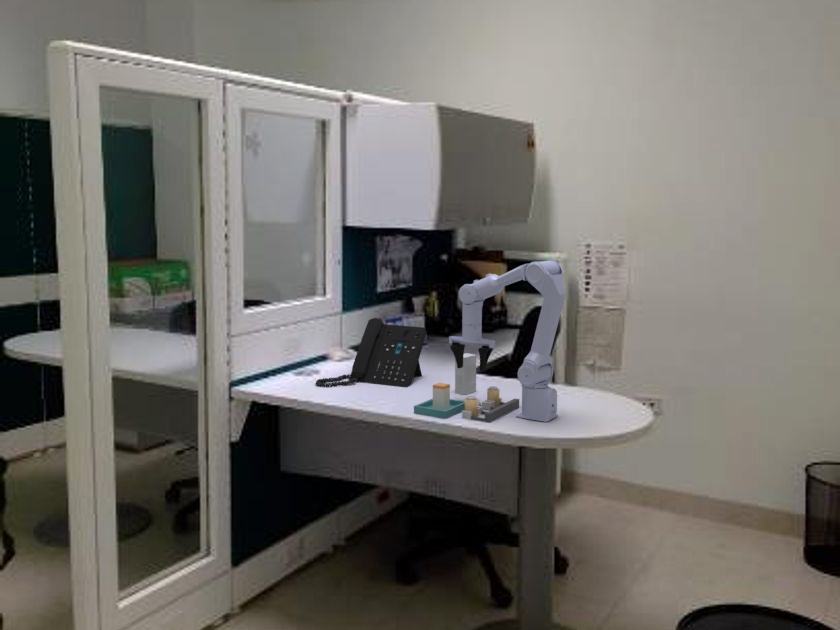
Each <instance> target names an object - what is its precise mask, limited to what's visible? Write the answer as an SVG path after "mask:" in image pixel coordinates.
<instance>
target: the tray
mask: <svg viewBox="0 0 840 630" xmlns="http://www.w3.org/2000/svg"><path fill="white" fill-rule="evenodd" d="M463 410H465V400H459V399H458V400H457V399H451V398H450V408H449V409H447V410H439V409H433V398H429V399H428V400H425V401H423V402H420V403H418V404H416V405H414V406H413V414H416V415H422V416H428V417H435V418H440V419H446V420H447V419H449V418H451V417H453V416H455V415H457V414H459V413H462V411H463Z"/></svg>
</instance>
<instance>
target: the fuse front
mask: <svg viewBox="0 0 840 630" xmlns="http://www.w3.org/2000/svg"><path fill="white" fill-rule="evenodd" d="M478 400H479V399H478V398H476V396H473V395H471V396H470V395H469V396H468V395H467V396H466V398H464V401H465V411H471V412H472V416H475V417H478V416H477V406H478V404H479V403H478Z"/></svg>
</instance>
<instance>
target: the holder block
mask: <svg viewBox="0 0 840 630" xmlns="http://www.w3.org/2000/svg"><path fill="white" fill-rule="evenodd" d="M517 409H520V399H519V398H513V399H511V400H509V401H506V402H504V401H502V397H499V406H498V407H495V401H490V400H487V399H485V400H483V401H481V405H477V417H475V416H472V412H471V411H465V410H463V411H462V412H461V418H462V419H467V420H471V421H472V420H473V421H478V422H482V423H483V422H484V423H489V424H490V423H491V422H493V421H496V420H498V419H499V418H501V417H504V416H505V415H507V414H509V413H511V412H513V411H515V410H517ZM485 410H486V411H485ZM487 410H488V411H487ZM480 415H484V417H480Z"/></svg>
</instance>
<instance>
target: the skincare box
mask: <svg viewBox="0 0 840 630" xmlns="http://www.w3.org/2000/svg"><path fill="white" fill-rule="evenodd" d="M476 391H477V355H476V354H473V353H468V352H467V353H466V352H464V354H463V367H462V368H458V367H457V363H456V359H455V358H454V393H455V394H460V395H464V396H467V395H468V394H471V393H475V392H476Z"/></svg>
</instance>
